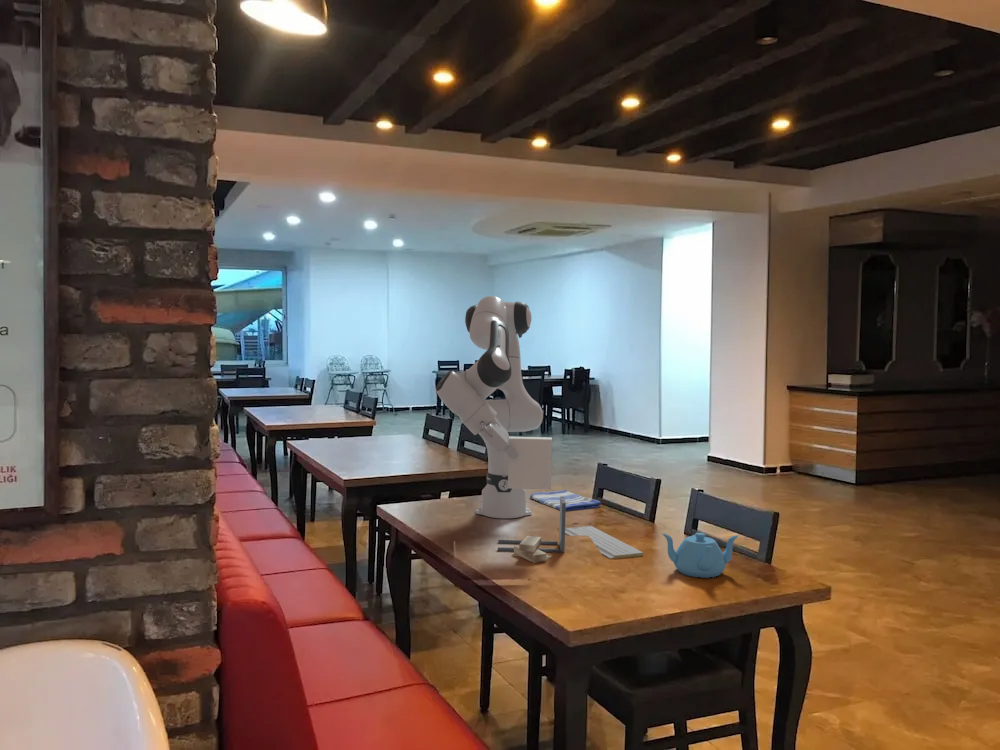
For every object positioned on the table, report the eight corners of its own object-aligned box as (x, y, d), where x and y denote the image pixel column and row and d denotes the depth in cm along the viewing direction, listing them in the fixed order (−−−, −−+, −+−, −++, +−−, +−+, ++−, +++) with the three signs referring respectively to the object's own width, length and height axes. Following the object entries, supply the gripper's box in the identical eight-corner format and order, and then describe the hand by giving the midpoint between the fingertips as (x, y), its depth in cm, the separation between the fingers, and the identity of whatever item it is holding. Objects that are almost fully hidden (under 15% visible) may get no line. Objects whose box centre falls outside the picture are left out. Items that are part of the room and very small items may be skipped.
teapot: (692, 560, 212) (693, 523, 211) (741, 573, 201) (742, 534, 200) (659, 571, 202) (660, 532, 202) (709, 585, 191) (711, 544, 190)
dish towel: (566, 495, 296) (567, 488, 295) (603, 508, 275) (603, 500, 275) (527, 499, 287) (527, 492, 287) (562, 513, 267) (562, 505, 267)
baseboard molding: (605, 561, 211) (643, 558, 215) (605, 551, 211) (643, 547, 215) (556, 533, 240) (591, 530, 244) (557, 524, 240) (591, 521, 244)
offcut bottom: (517, 558, 213) (517, 551, 213) (551, 563, 209) (551, 555, 209) (511, 561, 210) (512, 554, 209) (546, 567, 205) (546, 559, 205)
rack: (498, 546, 222) (499, 495, 221) (562, 548, 222) (563, 496, 221) (497, 555, 213) (498, 501, 212) (564, 556, 213) (565, 503, 212)
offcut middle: (526, 551, 213) (526, 544, 213) (546, 560, 204) (546, 553, 204) (513, 553, 211) (514, 545, 211) (533, 563, 202) (533, 555, 202)
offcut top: (541, 544, 213) (541, 537, 213) (533, 553, 204) (534, 545, 204) (526, 542, 214) (527, 535, 214) (519, 551, 205) (519, 544, 205)
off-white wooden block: (507, 485, 219) (508, 436, 218) (550, 486, 218) (551, 437, 217) (507, 488, 215) (508, 438, 214) (550, 489, 214) (552, 439, 213)
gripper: (488, 416, 205) (524, 453, 205) (491, 408, 225) (523, 442, 226) (471, 432, 205) (507, 470, 206) (475, 423, 226) (508, 457, 226)
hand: (516, 455), depth 216 cm, fingers closed on off-white wooden block, 4 cm apart
